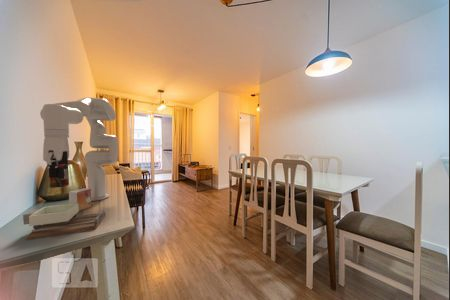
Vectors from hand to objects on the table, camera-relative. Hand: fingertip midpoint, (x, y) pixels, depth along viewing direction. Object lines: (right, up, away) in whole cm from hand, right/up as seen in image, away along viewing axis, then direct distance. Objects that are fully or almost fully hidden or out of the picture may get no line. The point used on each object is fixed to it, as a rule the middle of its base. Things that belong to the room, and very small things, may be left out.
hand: (59, 175), depth 72 cm
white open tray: (-3, -21, 0) cm, 21 cm away
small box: (-9, -22, +21) cm, 32 cm away
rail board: (+3, -23, +3) cm, 24 cm away
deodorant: (0, -5, 0) cm, 5 cm away
